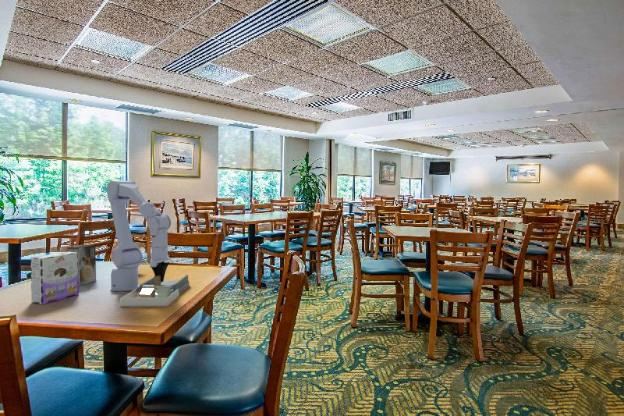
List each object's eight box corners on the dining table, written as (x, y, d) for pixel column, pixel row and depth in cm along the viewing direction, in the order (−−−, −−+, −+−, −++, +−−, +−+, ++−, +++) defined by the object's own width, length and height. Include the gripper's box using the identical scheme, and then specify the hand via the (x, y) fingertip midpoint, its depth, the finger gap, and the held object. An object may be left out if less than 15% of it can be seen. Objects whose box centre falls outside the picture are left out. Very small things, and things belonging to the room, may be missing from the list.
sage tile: (155, 298, 138) (154, 294, 137) (159, 292, 141) (158, 287, 141) (166, 298, 138) (165, 294, 137) (170, 292, 142) (169, 287, 141)
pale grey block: (141, 290, 141) (141, 276, 140) (144, 289, 143) (143, 274, 142) (171, 290, 141) (171, 276, 141) (172, 289, 143) (172, 274, 143)
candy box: (69, 293, 146) (68, 251, 145) (79, 294, 144) (78, 252, 143) (30, 302, 133) (29, 256, 132) (41, 304, 131) (40, 257, 130)
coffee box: (84, 280, 167) (83, 244, 167) (96, 280, 166) (96, 244, 165) (66, 285, 158) (66, 247, 158) (79, 285, 157) (79, 247, 156)
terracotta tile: (139, 298, 138) (139, 294, 137) (144, 292, 141) (143, 287, 141) (151, 298, 138) (150, 294, 137) (154, 292, 141) (154, 287, 141)
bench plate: (138, 296, 142) (138, 284, 141) (155, 285, 159) (155, 274, 158) (176, 296, 142) (176, 284, 142) (189, 285, 159) (189, 274, 159)
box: (120, 306, 129) (120, 298, 129) (135, 296, 142) (135, 288, 141) (167, 306, 130) (167, 297, 130) (178, 296, 142) (178, 288, 142)
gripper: (163, 249, 137) (163, 286, 137) (176, 244, 151) (176, 277, 152) (143, 249, 136) (144, 286, 137) (158, 244, 151) (158, 277, 151)
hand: (159, 282), depth 144 cm, fingers closed
